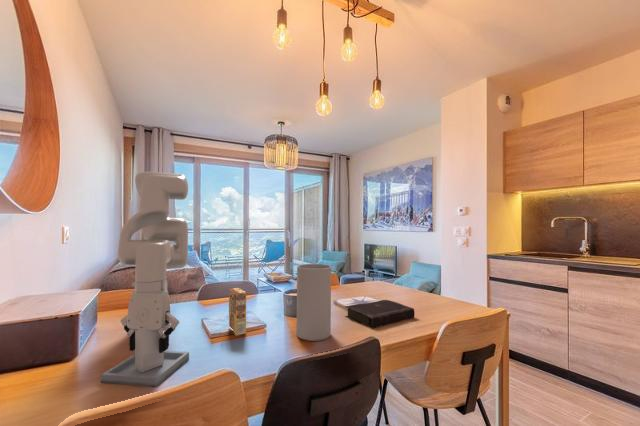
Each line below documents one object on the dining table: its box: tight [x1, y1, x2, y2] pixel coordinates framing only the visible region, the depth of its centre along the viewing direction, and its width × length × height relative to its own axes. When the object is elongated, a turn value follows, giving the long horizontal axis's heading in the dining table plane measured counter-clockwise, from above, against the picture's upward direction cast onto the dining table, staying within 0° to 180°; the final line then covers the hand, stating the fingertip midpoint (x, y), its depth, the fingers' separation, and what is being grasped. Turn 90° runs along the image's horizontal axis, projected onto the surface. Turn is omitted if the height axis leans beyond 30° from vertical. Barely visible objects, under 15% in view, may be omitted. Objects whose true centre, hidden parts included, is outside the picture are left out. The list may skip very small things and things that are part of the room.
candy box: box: [228, 287, 247, 336], centre depth 111 cm, size 9×4×15 cm, turn 33°
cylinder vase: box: [295, 263, 332, 342], centre depth 108 cm, size 12×12×25 cm
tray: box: [100, 350, 190, 387], centre depth 82 cm, size 15×15×2 cm
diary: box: [344, 299, 415, 329], centre depth 129 cm, size 19×25×5 cm
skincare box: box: [134, 327, 164, 373], centre depth 82 cm, size 6×4×12 cm
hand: (149, 349), depth 82 cm, fingers open, 8 cm apart
